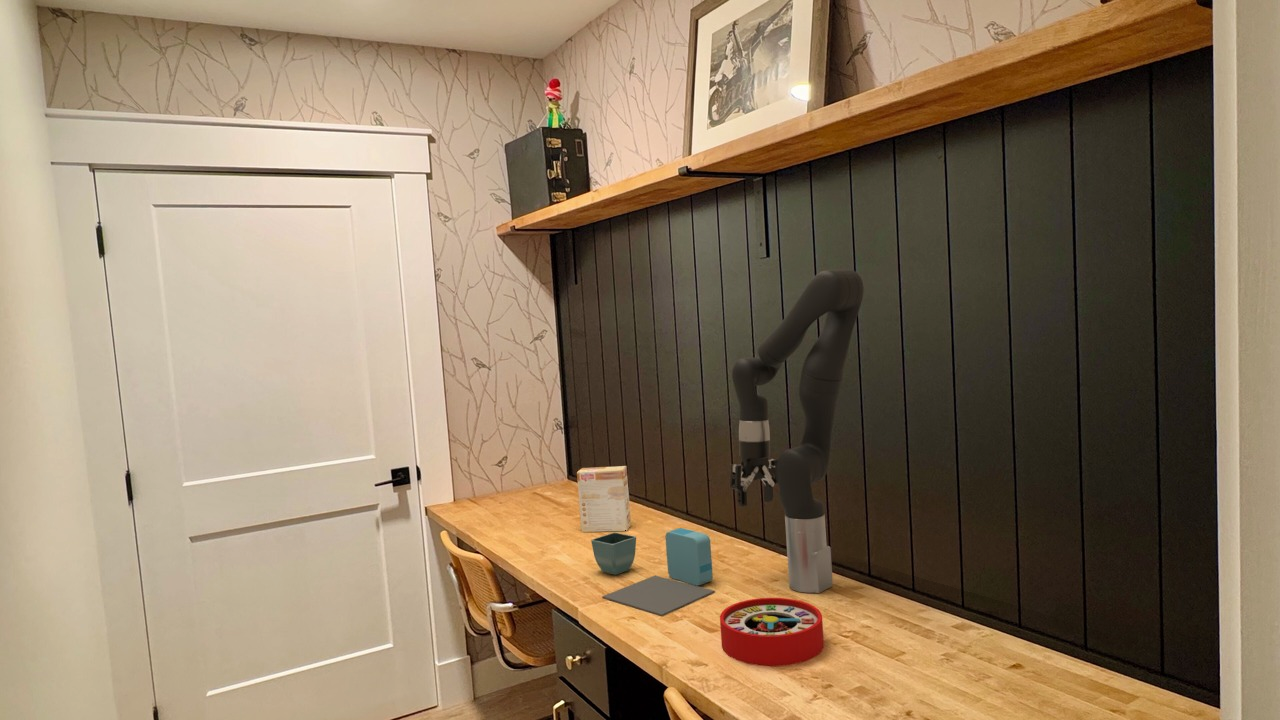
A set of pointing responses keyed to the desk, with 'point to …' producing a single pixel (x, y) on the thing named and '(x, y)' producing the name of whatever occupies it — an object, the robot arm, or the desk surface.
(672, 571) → the data package
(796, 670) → the desk surface
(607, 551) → the flower pot
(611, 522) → the coffeecake box
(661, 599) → the mat
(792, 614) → the toy clock
